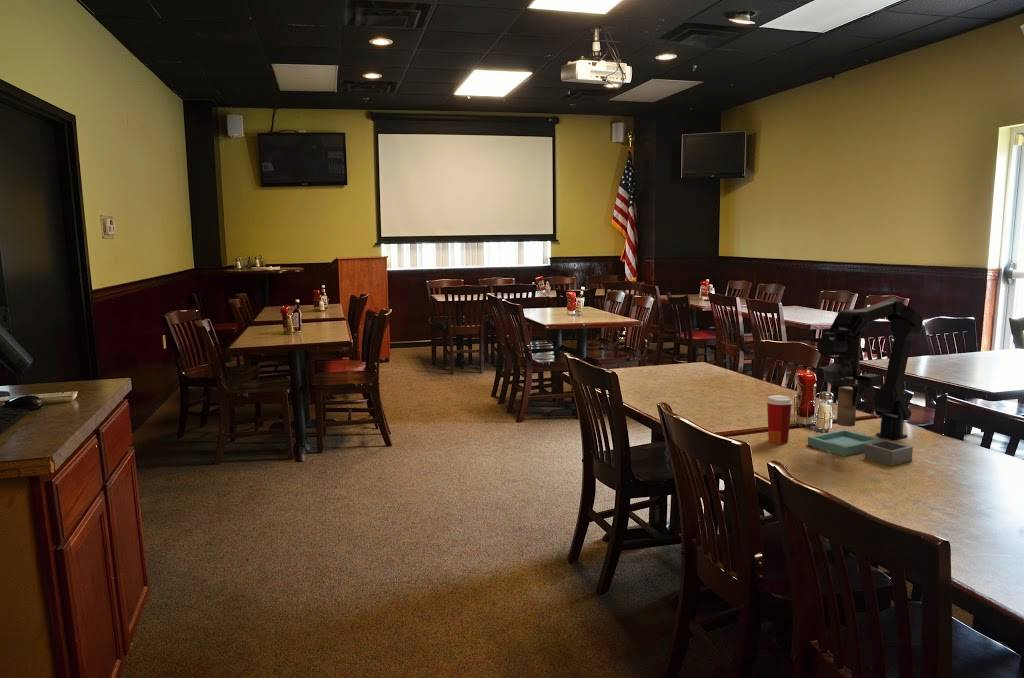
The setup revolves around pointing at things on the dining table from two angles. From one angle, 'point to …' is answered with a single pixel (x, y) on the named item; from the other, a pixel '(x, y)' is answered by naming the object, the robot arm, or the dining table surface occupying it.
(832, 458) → the dining table surface
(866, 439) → the tray
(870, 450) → the holder
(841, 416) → the pepper mill
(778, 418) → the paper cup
